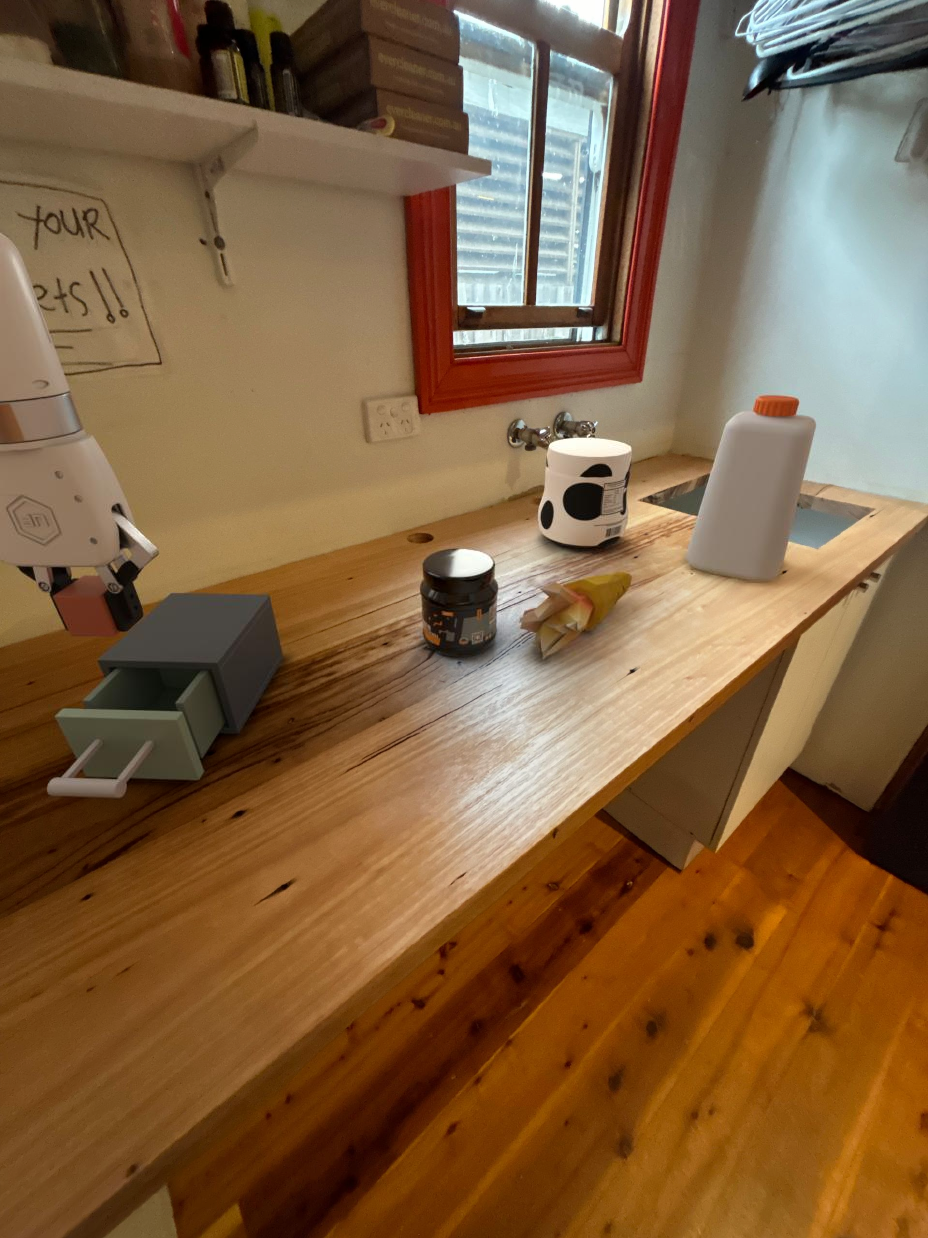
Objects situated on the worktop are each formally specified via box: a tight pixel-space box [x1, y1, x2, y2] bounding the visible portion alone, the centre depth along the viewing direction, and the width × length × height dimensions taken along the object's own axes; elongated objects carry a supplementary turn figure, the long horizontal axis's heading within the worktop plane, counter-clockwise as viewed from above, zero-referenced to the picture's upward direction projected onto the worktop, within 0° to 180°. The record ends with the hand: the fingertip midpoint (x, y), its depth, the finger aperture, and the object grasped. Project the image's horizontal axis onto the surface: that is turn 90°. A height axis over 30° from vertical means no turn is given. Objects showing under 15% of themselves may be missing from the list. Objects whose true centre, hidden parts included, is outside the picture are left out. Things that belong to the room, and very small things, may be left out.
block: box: [53, 574, 121, 638], centre depth 50 cm, size 4×4×4 cm
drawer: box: [46, 667, 227, 799], centre depth 54 cm, size 20×12×8 cm, turn 177°
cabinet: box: [96, 592, 284, 735], centre depth 64 cm, size 15×13×10 cm
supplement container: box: [419, 547, 499, 658], centre depth 73 cm, size 10×10×12 cm
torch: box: [518, 570, 633, 660], centre depth 77 cm, size 8×8×25 cm
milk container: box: [537, 437, 633, 549], centre depth 103 cm, size 17×17×18 cm
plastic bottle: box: [685, 394, 817, 583], centre depth 90 cm, size 15×15×28 cm
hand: (105, 622), depth 51 cm, fingers closed on block, 4 cm apart
